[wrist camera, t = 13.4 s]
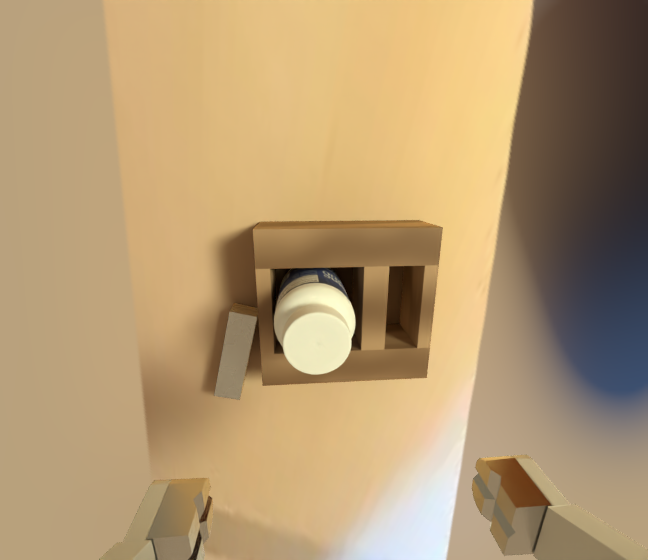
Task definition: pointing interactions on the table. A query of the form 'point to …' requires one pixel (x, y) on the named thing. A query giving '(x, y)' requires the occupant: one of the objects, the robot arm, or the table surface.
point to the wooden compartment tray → (354, 293)
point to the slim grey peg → (236, 351)
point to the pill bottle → (314, 320)
